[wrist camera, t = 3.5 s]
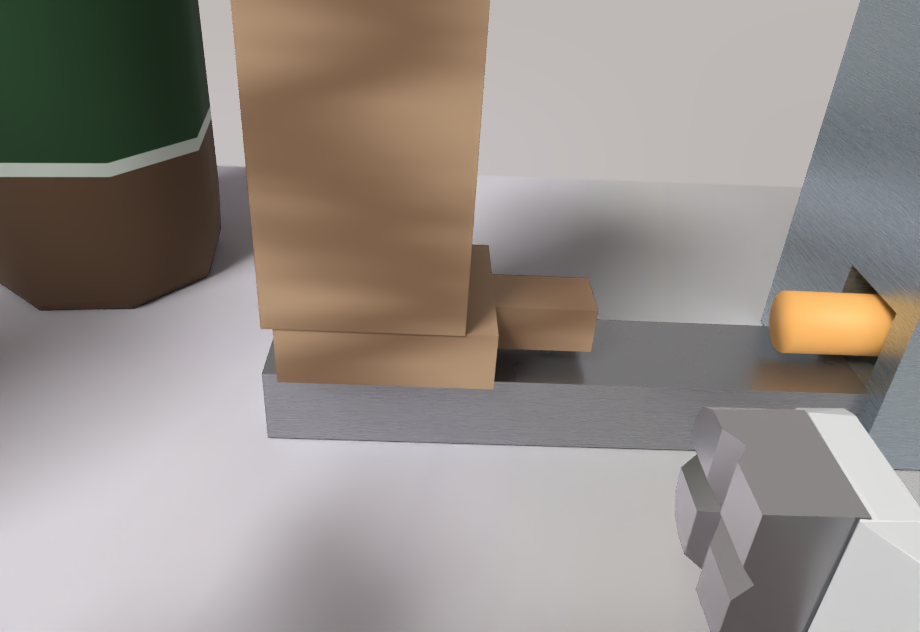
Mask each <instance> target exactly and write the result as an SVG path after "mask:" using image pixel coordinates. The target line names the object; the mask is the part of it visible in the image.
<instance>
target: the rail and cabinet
mask: <svg viewBox="0 0 920 632" xmlns="http://www.w3.org/2000/svg"><path fill="white" fill-rule="evenodd" d="M784 290H786V291H811V292H835V293H860V294H879V295H880V296H881V297H882V298H883V299H884V300H885V301H886V302H887V303H888V305H889V306H890V307H891V308H892V309H893V310H894V311H895V312H896V316H895V318H894V320H893V323H892V325H891V328H890V330H889V332H888V335H887V337H886V340H885V342H884V344H883V347H882V349H881V352H880V354H879V356H854V355H827V354H799V353H780V352H778V351H777V350H776V349H775V348H774V346H773V344H772V341H771V338H770V332H769V315H770V310H771V306H772V303H773V301H774V299H775V297H776V295H777V294H778V293H779V292H781V291H784ZM761 322H762V323H763V325H764V326H749V325H722V324H696V323H670V322H643V321H617V320H597V321H596V326H595V332H594V338H593V343H592V349H591V352H582V351H554V350H526V349H499V348H497V357H496V367H495V377H494V387H493V389H465V388H435V387H405V386H375V385H345V384H316V383H286V382H277V375H276V363H275V351H274V339H273V341H272V344H271V347H270V350H269V353H268V356H267V360H266V363H265V366H264V369H263V372H262V380H263V390H264V401H265V411H266V422H267V433H268V437H273V438H306V439H339V440H372V441H405V442H438V443H471V444H504V445H538V446H571V447H604V448H637V449H670V450H695V448H694V445H693V443H692V440H691V438H690V434H691V431H692V427H693V424H694V421H695V417H696V416H697V414H698V413H699V411H700V410H701V408H702V407H732V408H769V409H796V408H844V409H846V410H848V411H849V412H851V413H853V414H854V415H855V416H856V417H857V418H858V420H859V421H860V423H861V424H862V425H863V427H864V428H865V430H866V431H867V433H868V434H869V435H870V437H871V438H872V440H873V441H874V443H875V444H876V445H877V447H878V448H879V450H880V451H881V453H882V454H883V455H884V457H885V458H886V460H887V461H888V462H889V464H890V465H891V467H892V468H893V469H901V470H920V0H860V3H859V7H858V10H857V13H856V16H855V20H854V23H853V26H852V29H851V32H850V36H849V39H848V42H847V45H846V49H845V52H844V55H843V58H842V62H841V65H840V68H839V71H838V74H837V77H836V81H835V84H834V87H833V91H832V93H831V97H830V100H829V103H828V106H827V110H826V113H825V117H824V119H823V122H822V126H821V129H820V132H819V135H818V139H817V142H816V145H815V148H814V151H813V155H812V158H811V162H810V164H809V168H808V171H807V174H806V177H805V180H804V184H803V187H802V190H801V193H800V197H799V200H798V203H797V206H796V209H795V213H794V216H793V219H792V222H791V225H790V229H789V232H788V235H787V238H786V242H785V245H784V248H783V251H782V254H781V258H780V261H779V264H778V267H777V271H776V274H775V277H774V280H773V283H772V287H771V290H770V293H769V296H768V300H767V303H766V306H765V309H764V312H763V316H762V319H761Z"/></svg>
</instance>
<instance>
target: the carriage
mask: <svg viewBox="0 0 920 632" xmlns="http://www.w3.org/2000/svg"><path fill="white" fill-rule="evenodd" d="M489 7H490V0H231V11H232V21H233V33H234V43H235V54H236V64H237V76H238V87H239V97H240V109H241V120H242V130H243V141H244V152H245V161H246V174H247V185H248V196H249V207H250V218H251V228H252V239H253V250H254V261H255V272H256V283H257V294H258V305H259V316H260V326H261V329H273V339H274V351H275V363H276V375H277V382H286V383H316V384H345V385H375V386H405V387H435V388H465V389H493V387H494V377H495V367H496V357H497V348H499V349H526V350H554V351H582V352H591V349H592V343H593V338H594V332H595V326H596V321H597V315H598V309H597V305H596V302H595V299H594V296H593V293H592V290H591V286H590V283H589V280H588V278H576V277H551V276H527V275H502V274H492V272H491V262H490V253H489V245H472V237H473V224H474V210H475V197H476V183H477V170H478V156H479V143H480V129H481V114H482V101H483V89H484V75H485V62H486V48H487V35H488V21H489Z"/></svg>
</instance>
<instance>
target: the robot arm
mask: <svg viewBox="0 0 920 632" xmlns="http://www.w3.org/2000/svg"><path fill="white" fill-rule="evenodd" d="M690 438H691V440H692V443H693V445H694V448H695V450H696V453H697V455H696V456H694V457H693V458H692V459H691V460H690V461H688V462H687V463H686V464H685V465H684V466H682V467H681V470H680V474H679V479H678V483H677V487H676V494H675V518H676V525H677V531H678V536H679V539H680V542H681V545H682V549H683V552H684V554H685V555H686V556H687V557H688V558H689V559H690V560H692V561H693V562H694V563H695V564H696V565H697V566H698V567H700V568H701V569H702V571H701V574H700V577H699V581H698V584H697V587H696V591H697V594H698V597H699V600H700V603H701V606H702V609H703V612H704V615H705V618H706V620H707V623H708V626H709V629H710V632H920V507H919V505H918V504H917V502H916V501H915V499H914V498H913V497H912V495H911V494H910V492H909V491H908V489H907V488H906V487H905V485H904V484H903V482H902V481H901V480H900V478H899V477H898V475H897V474H896V472H895V471H894V470H893V468H892V467H891V465H890V464H889V462H888V461H887V460H886V458H885V457H884V455H883V454H882V453H881V451H880V450H879V448H878V447H877V445H876V444H875V443H874V441H873V440H872V438H871V437H870V435H869V434H868V433H867V431H866V430H865V428H864V427H863V425H862V424H861V423H860V421H859V420H858V418H857V417H856V416H855V415H854V414H853V413H851V412H849V411H848V410H846V409H844V408H796V409H769V408H732V407H702V408H701V410H700V411H699V413H698V414H697V416H696V417H695V421H694V424H693V427H692V431H691V434H690Z"/></svg>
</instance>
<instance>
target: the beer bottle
mask: <svg viewBox="0 0 920 632" xmlns="http://www.w3.org/2000/svg"><path fill="white" fill-rule="evenodd" d="M220 230H221V221H220V201H219V182H218V173H217V164H216V155H215V146H214V138H213V129H212V120H211V112H210V102H209V94H208V85H207V77H206V68H205V58H204V50H203V41H202V32H201V23H200V14H199V6H198V0H0V284H2V285H3V286H5V287H6V288H8V289H9V290H11V291H12V292H14V293H15V294H17V295H18V296H20V297H21V298H23V299H24V300H26V301H27V302H29V303H30V304H32V305H33V306H35V307H36V308H38V309H39V310H72V309H120V308H135V307H138V306H140V305H142V304H145V303H147V302H149V301H151V300H154V299H156V298H158V297H161V296H163V295H165V294H167V293H170V292H172V291H174V290H177V289H179V288H181V287H184V286H186V285H188V284H190V283H193V282H195V281H197V280H200V279H202V278H204V277H206V276H207V274H208V272H209V269H210V267H211V263H212V260H213V256H214V252H215V248H216V245H217V241H218V237H219V233H220Z"/></svg>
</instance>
